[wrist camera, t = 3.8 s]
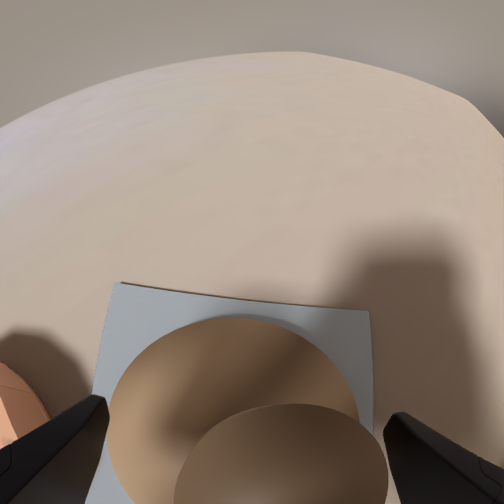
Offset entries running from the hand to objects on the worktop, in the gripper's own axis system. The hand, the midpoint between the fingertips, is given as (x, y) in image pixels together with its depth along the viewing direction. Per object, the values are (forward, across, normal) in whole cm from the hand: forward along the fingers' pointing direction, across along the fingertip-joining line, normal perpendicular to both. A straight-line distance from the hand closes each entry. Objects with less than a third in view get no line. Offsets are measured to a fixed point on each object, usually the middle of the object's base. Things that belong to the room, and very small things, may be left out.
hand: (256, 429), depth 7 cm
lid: (+4, 0, +6) cm, 7 cm away
